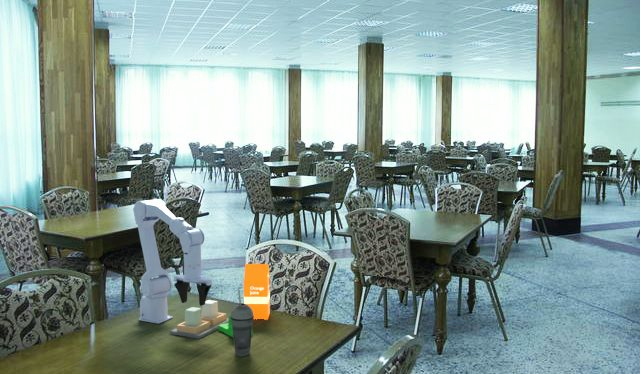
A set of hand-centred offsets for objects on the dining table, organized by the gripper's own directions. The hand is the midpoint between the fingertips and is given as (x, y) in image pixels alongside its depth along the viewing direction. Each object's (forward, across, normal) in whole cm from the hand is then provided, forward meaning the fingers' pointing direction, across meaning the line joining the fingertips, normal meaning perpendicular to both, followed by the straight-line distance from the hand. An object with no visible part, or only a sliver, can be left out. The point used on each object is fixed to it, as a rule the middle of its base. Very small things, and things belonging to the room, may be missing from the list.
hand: (193, 303), depth 198 cm
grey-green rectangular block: (+9, 0, +10) cm, 13 cm away
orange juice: (+10, +11, +24) cm, 28 cm away
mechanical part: (+10, +14, +5) cm, 18 cm away
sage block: (+9, 0, 0) cm, 9 cm away
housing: (+10, 0, +5) cm, 11 cm away
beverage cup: (+10, +26, -10) cm, 30 cm away
